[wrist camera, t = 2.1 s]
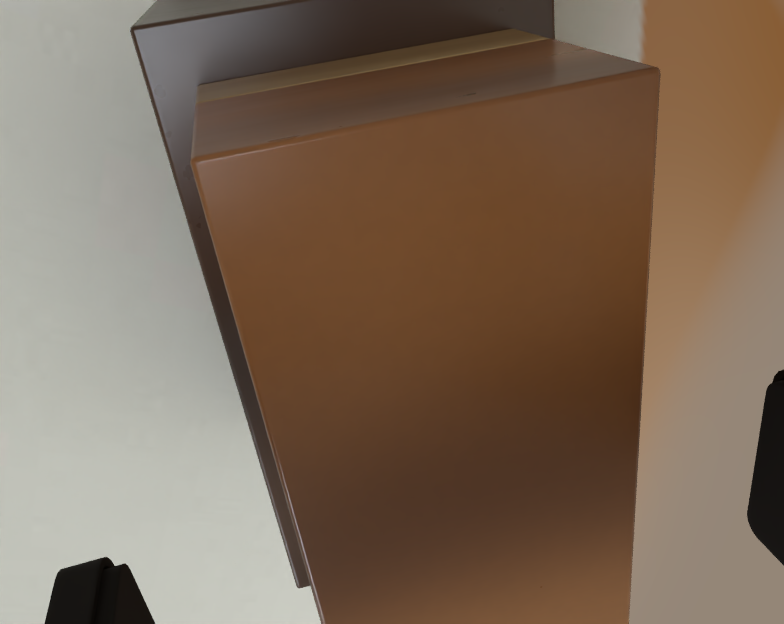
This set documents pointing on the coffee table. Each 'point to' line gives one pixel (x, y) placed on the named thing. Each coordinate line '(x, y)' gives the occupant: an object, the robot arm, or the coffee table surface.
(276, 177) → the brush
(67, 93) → the coffee table surface
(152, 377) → the coffee table surface
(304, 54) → the stand
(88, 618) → the robot arm
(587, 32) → the coffee table surface
